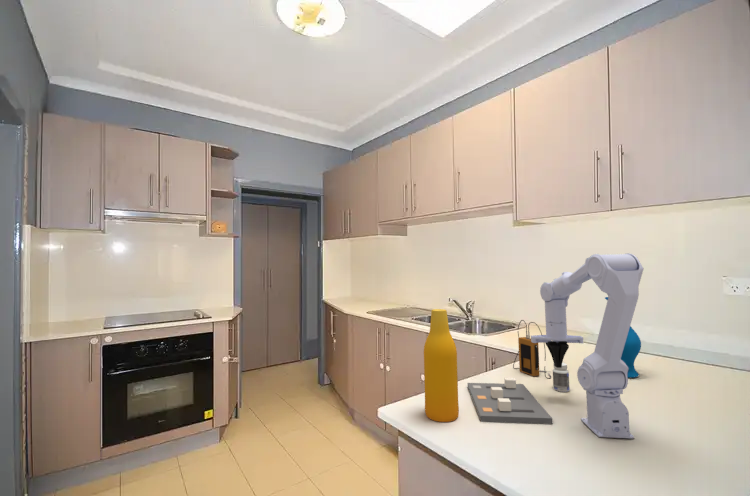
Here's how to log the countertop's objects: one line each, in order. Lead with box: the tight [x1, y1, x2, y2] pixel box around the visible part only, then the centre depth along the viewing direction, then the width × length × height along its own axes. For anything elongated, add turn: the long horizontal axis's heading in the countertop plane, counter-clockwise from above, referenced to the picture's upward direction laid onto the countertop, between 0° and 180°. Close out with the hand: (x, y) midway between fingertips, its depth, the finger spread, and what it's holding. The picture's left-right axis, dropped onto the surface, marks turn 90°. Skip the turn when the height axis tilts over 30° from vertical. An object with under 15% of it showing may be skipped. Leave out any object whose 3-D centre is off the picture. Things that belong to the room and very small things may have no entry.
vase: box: [604, 296, 642, 379], centre depth 129 cm, size 12×13×28 cm
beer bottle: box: [423, 308, 460, 423], centre depth 97 cm, size 9×9×29 cm
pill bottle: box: [552, 362, 570, 393], centre depth 115 cm, size 5×5×8 cm
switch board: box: [467, 382, 554, 425], centre depth 104 cm, size 26×18×2 cm
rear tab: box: [503, 377, 517, 388], centre depth 113 cm, size 2×3×2 cm
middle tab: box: [491, 387, 503, 398], centre depth 105 cm, size 2×3×2 cm
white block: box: [497, 398, 511, 411], centre depth 96 cm, size 2×3×2 cm
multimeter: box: [512, 319, 552, 379], centre depth 133 cm, size 15×10×20 cm
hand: (557, 366), depth 107 cm, fingers closed
